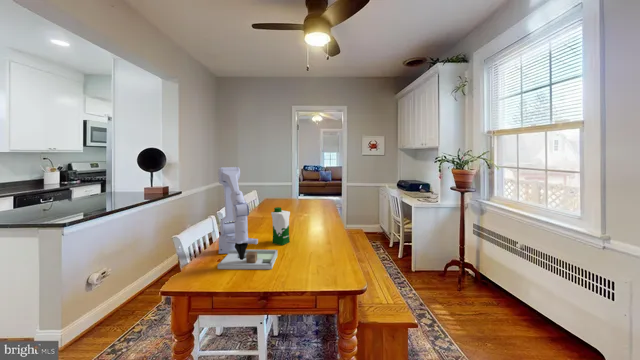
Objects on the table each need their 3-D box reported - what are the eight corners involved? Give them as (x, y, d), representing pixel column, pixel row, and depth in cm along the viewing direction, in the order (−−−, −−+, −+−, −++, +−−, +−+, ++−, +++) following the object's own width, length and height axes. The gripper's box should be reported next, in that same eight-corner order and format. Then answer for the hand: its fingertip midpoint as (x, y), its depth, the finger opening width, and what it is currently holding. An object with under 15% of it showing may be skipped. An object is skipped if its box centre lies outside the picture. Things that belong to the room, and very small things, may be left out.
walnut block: (246, 263, 126) (246, 254, 126) (248, 259, 130) (248, 251, 130) (255, 263, 126) (255, 254, 126) (257, 259, 130) (257, 251, 130)
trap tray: (217, 268, 124) (217, 262, 124) (229, 255, 140) (229, 249, 140) (271, 269, 124) (271, 262, 124) (277, 255, 140) (277, 249, 140)
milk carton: (280, 239, 166) (279, 206, 164) (292, 242, 161) (291, 207, 159) (270, 243, 158) (269, 208, 156) (282, 246, 154) (282, 210, 152)
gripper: (222, 232, 123) (223, 262, 125) (255, 232, 123) (255, 262, 124) (227, 228, 130) (228, 256, 132) (258, 228, 130) (259, 256, 131)
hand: (242, 258), depth 128 cm, fingers closed
